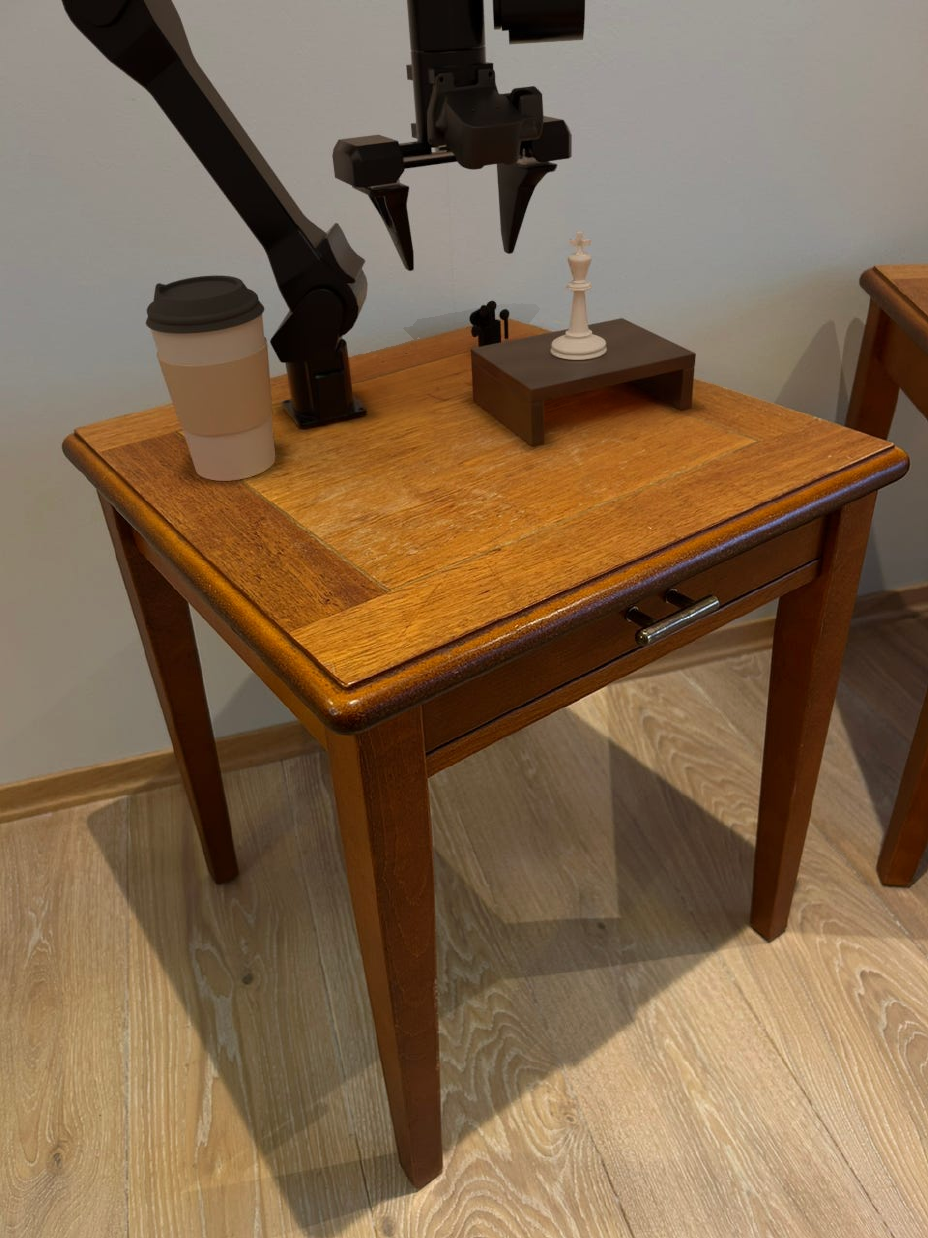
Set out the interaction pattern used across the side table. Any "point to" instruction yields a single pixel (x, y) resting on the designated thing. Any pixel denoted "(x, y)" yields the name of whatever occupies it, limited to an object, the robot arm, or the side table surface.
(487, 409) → the shelf
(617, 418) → the side table surface
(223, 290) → the coffee cup
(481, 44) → the robot arm
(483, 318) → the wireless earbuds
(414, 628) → the side table surface
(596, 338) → the chess piece
